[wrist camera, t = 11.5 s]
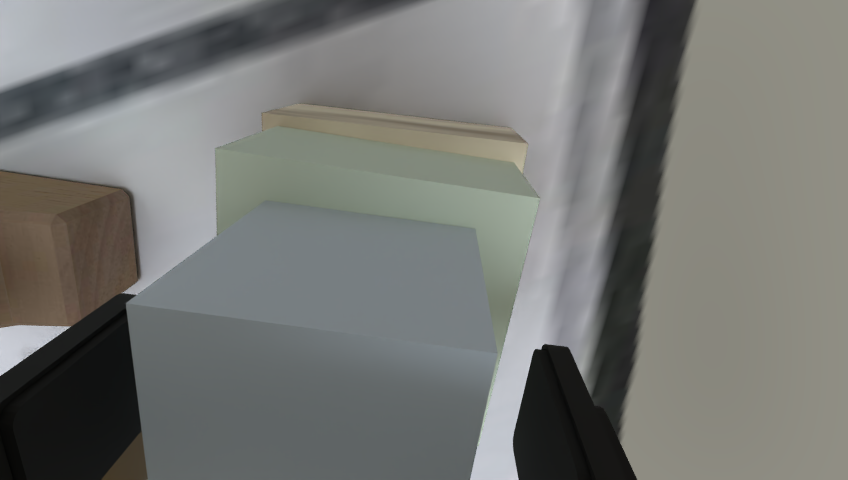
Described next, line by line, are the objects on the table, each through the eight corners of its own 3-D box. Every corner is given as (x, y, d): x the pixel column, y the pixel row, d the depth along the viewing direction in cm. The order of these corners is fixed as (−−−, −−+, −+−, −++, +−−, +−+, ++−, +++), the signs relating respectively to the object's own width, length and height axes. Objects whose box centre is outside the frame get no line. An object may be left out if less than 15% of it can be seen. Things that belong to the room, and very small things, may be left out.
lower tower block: (301, 102, 22) (261, 112, 17) (510, 127, 22) (528, 143, 17) (299, 289, 25) (266, 340, 21) (478, 310, 25) (486, 365, 20)
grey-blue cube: (265, 200, 13) (125, 303, 7) (475, 228, 13) (497, 353, 7) (265, 373, 15) (157, 556, 9) (445, 397, 15) (444, 594, 9)
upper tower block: (277, 125, 17) (215, 148, 12) (513, 162, 17) (540, 198, 12) (271, 329, 20) (220, 408, 16) (470, 359, 20) (478, 446, 16)
